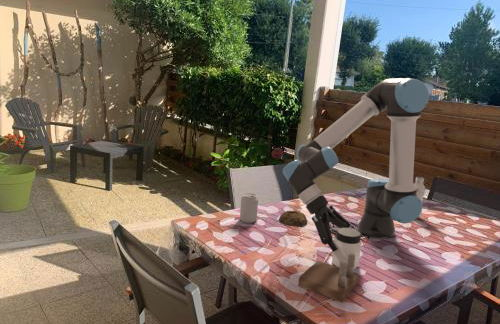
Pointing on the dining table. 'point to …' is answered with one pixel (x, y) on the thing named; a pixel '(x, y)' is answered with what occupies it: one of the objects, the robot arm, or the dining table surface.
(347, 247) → the jar
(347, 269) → the peg stand
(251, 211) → the can
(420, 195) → the pale carved statuette
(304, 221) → the bread roll
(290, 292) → the dining table surface
